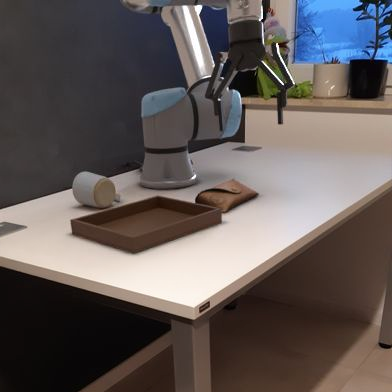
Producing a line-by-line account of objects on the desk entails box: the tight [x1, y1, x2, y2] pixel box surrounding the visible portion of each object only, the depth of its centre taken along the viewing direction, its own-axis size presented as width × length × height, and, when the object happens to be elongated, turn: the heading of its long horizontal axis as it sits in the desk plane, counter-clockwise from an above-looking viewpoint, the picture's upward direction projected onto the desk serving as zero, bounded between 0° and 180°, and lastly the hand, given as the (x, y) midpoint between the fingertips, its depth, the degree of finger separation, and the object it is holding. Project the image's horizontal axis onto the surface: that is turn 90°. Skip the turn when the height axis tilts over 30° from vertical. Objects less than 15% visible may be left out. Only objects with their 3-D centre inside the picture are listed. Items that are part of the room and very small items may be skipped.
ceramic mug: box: [71, 171, 121, 209], centre depth 129 cm, size 11×8×8 cm
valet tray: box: [69, 195, 223, 254], centre depth 112 cm, size 20×25×3 cm
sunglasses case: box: [194, 177, 260, 213], centre depth 128 cm, size 18×7×7 cm
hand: (251, 127), depth 124 cm, fingers open, 13 cm apart
